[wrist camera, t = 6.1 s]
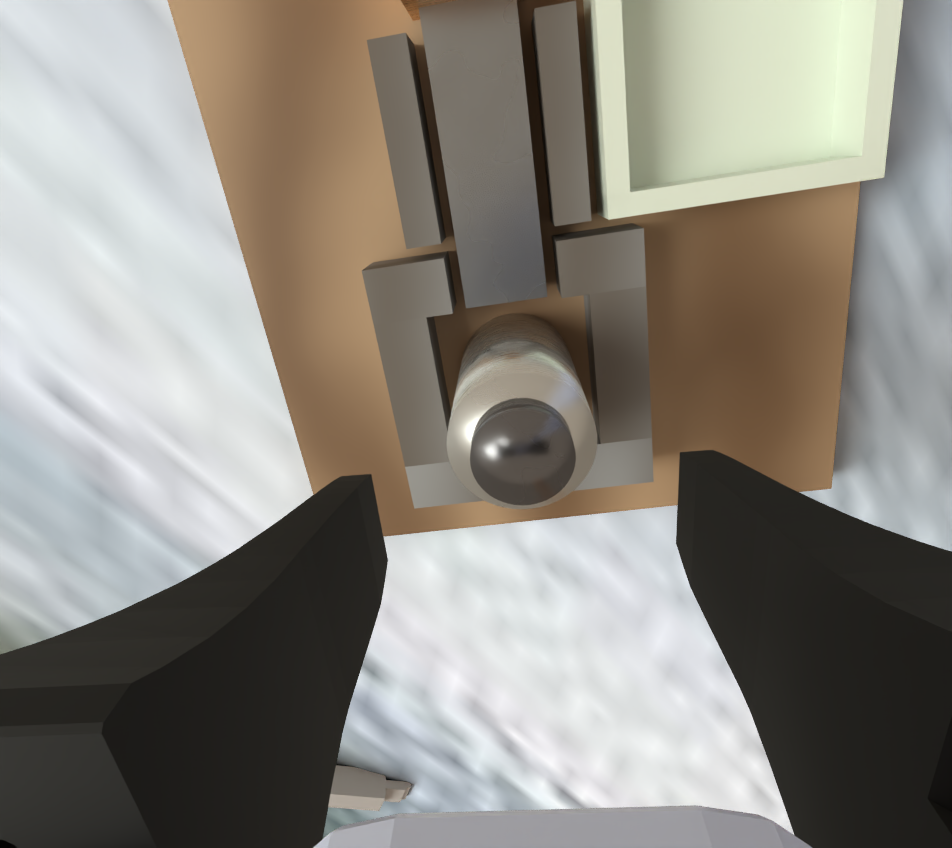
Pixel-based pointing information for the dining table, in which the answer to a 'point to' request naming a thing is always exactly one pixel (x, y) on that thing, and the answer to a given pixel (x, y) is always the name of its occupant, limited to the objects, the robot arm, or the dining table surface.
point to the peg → (520, 416)
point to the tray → (736, 98)
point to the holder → (565, 308)
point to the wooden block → (485, 145)
